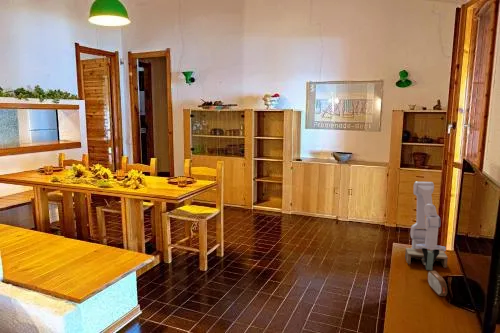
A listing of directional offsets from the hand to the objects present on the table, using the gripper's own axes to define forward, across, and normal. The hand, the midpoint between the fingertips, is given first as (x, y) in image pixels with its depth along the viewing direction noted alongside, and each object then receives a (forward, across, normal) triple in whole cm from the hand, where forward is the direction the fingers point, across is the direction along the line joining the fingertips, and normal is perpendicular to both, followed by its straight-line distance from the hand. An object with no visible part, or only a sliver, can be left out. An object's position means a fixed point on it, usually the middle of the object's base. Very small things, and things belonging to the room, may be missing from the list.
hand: (429, 261), depth 200 cm
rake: (+4, 0, +4) cm, 6 cm away
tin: (+5, -2, -24) cm, 24 cm away
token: (+4, 0, +6) cm, 8 cm away
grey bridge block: (+4, 0, +9) cm, 10 cm away
